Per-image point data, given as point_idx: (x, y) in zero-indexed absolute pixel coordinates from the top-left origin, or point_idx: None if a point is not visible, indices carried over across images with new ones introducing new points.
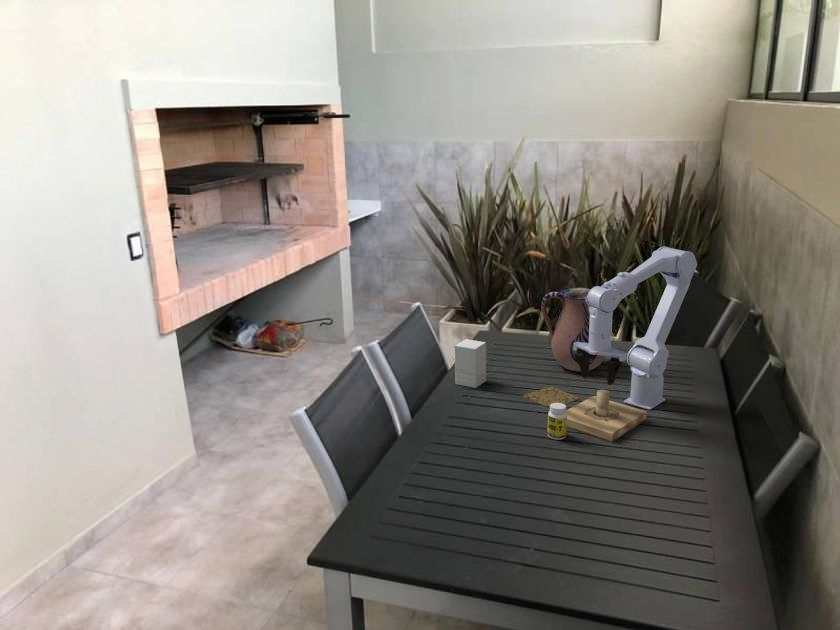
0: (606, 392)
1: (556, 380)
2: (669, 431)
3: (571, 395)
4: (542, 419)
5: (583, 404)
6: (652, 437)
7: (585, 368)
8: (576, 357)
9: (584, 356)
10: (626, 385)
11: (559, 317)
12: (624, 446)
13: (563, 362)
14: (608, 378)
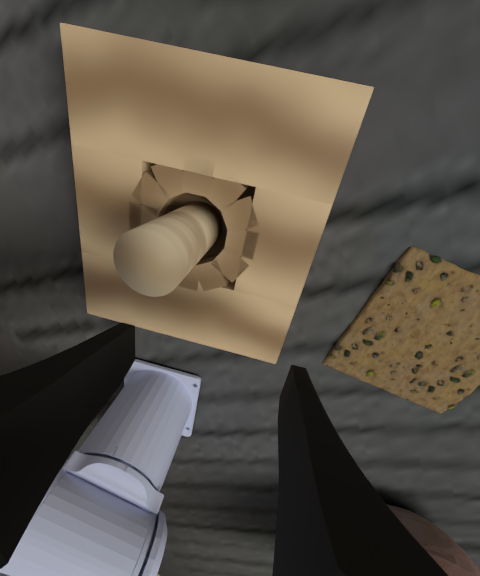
0: (131, 266)
1: (429, 451)
2: (23, 255)
3: (359, 372)
4: (443, 110)
5: (285, 281)
6: (27, 187)
7: (291, 431)
8: (411, 551)
9: (307, 573)
10: (235, 460)
11: None
12: (40, 40)
13: (431, 533)
14: (98, 343)
